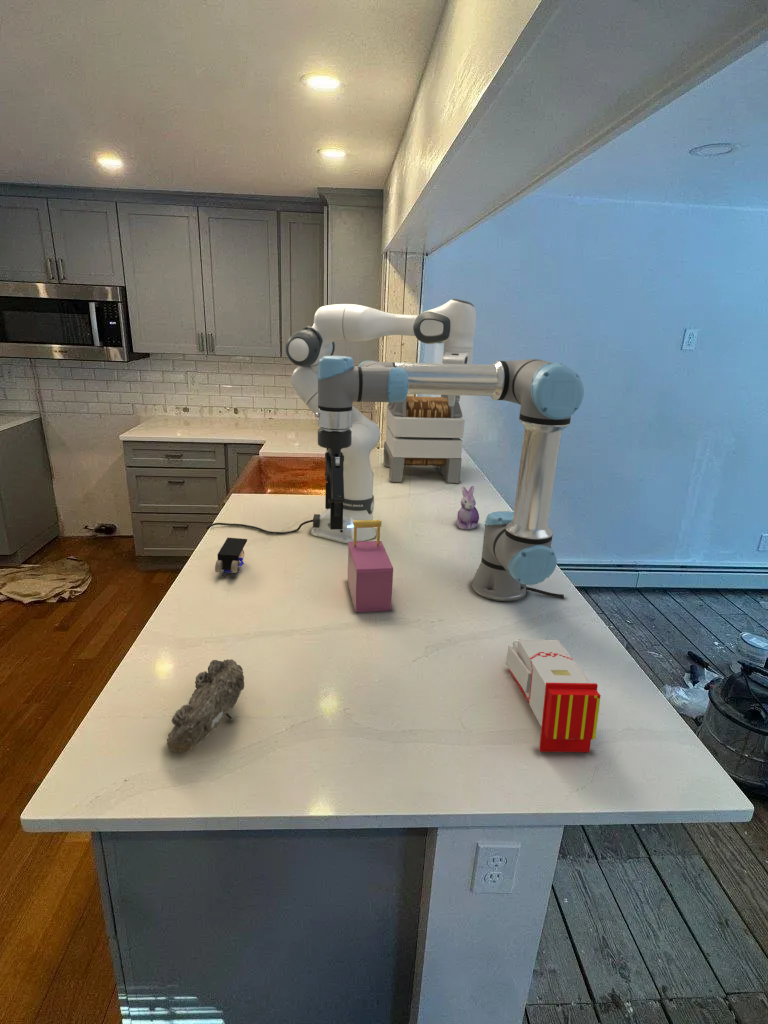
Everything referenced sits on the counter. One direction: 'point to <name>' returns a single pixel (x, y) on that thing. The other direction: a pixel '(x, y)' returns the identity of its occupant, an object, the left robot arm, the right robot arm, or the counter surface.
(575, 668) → the toy
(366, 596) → the chest
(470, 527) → the figurine
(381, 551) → the lid
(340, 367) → the right robot arm
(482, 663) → the counter surface
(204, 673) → the fossil
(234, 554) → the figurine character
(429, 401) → the transformer
